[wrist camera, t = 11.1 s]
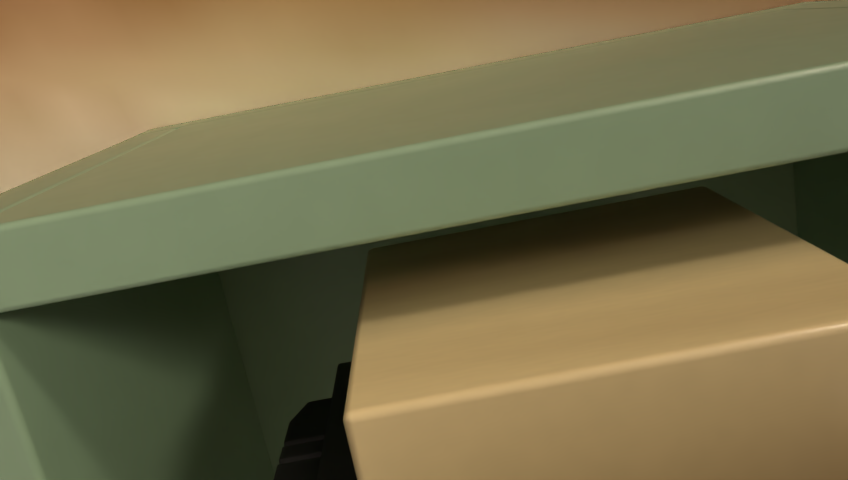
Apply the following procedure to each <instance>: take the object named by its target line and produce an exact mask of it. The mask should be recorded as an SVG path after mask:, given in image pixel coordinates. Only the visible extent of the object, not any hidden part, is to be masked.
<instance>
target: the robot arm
mask: <svg viewBox="0 0 848 480" xmlns="http://www.w3.org/2000/svg"><path fill="white" fill-rule="evenodd" d="M351 362H352V361H351ZM351 362H345V363H340V364H338V367H337V373H336V378H335V383H334V389H333V394H332V398H327V399H322V400H316V401H311V402H308V403H307V404H306V405H305V406H304V407H303V408H302V409H301V410H300V411H299V413H298V414H297V415H296V416H295V417H294V418H293V419H292V420H291V421H290V422H289V426H288V430H287V433H286V437H285V440H284V447H282V451H281V455H280V458H279V465H277V469H276V472H275V476H274V479H273V480H357V477H356V473H355V469H354V465H353V460H352V456H351V452H350V448H349V444H348V440H347V436H346V432H345V428H344V423H343V416H344V409H345V402H346V396H347V389H348V382H349V376H350V369H351Z"/></svg>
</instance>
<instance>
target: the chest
mask: <svg viewBox="0 0 848 480" xmlns="http://www.w3.org/2000/svg"><path fill="white" fill-rule="evenodd" d="M700 186H704V187H707V188H709V189H711V190H713V191H715V192H717V193H718V194H720V195H722V196H724V197H726V198H728V199H729V200H731V201H733V202H735V203H737V204H739V205H741V206H742V207H744V208H746V209H748V210H750V211H752V212H753V213H755V214H757V215H759V216H761V217H763V218H765V219H766V220H768V221H770V222H772V223H774V224H776V225H777V226H779V227H781V228H783V229H785V230H787V231H788V232H790V233H792V234H794V235H796V236H798V237H800V238H801V239H803V240H805V241H807V242H809V243H811V244H812V245H814V246H816V247H818V248H820V249H822V250H824V251H825V252H827V253H829V254H831V255H833V256H835V257H836V258H838V259H840V260H842V261H844V262H846V263H847V264H848V0H832V1H815V2H802V3H797V4H792V5H787V6H782V7H777V8H772V9H767V10H761V11H756V12H751V13H746V14H741V15H736V16H731V17H725V18H720V19H715V20H710V21H705V22H700V23H695V24H689V25H684V26H679V27H674V28H669V29H664V30H659V31H654V32H648V33H643V34H638V35H633V36H628V37H623V38H618V39H612V40H607V41H602V42H597V43H592V44H587V45H582V46H577V47H571V48H566V49H561V50H556V51H551V52H546V53H541V54H535V55H530V56H525V57H520V58H515V59H510V60H505V61H500V62H494V63H489V64H484V65H479V66H474V67H469V68H464V69H458V70H453V71H448V72H443V73H438V74H433V75H428V76H423V77H417V78H412V79H407V80H402V81H397V82H392V83H387V84H381V85H376V86H371V87H366V88H361V89H356V90H351V91H345V92H340V93H335V94H330V95H325V96H320V97H315V98H310V99H304V100H299V101H294V102H289V103H284V104H279V105H274V106H268V107H263V108H258V109H253V110H248V111H243V112H238V113H233V114H227V115H222V116H217V117H212V118H207V119H202V120H197V121H191V122H186V123H181V124H176V125H171V126H166V127H161V128H156V129H151V130H148V131H146V132H144V133H141V134H139V135H137V136H135V137H133V138H130V139H128V140H126V141H123V142H121V143H119V144H116V145H114V146H112V147H109V148H107V149H105V150H102V151H100V152H98V153H95V154H93V155H90V156H88V157H86V158H83V159H81V160H79V161H76V162H74V163H72V164H69V165H67V166H65V167H62V168H60V169H58V170H55V171H53V172H51V173H48V174H46V175H44V176H41V177H39V178H36V179H34V180H32V181H29V182H27V183H25V184H22V185H20V186H18V187H15V188H13V189H11V190H8V191H6V192H4V193H1V194H0V480H273V479H274V476H275V472H276V469H277V465H279V458H280V455H281V451H282V447H284V440H285V437H286V433H287V430H288V426H289V422H290V421H291V420H292V419H293V418H294V417H295V416H296V415H297V414H298V413H299V411H300V410H301V409H302V408H303V407H304V406H305V405H306V404H307V403H308V402H311V401H316V400H322V399H327V398H332V394H333V389H334V383H335V378H336V373H337V367H338V364H340V363H345V362H351V361H352V356H353V349H354V342H355V336H356V329H357V322H358V316H359V309H360V302H361V296H362V289H363V282H364V276H365V269H366V262H367V256H368V251H369V250H371V249H372V248H377V247H383V246H388V245H393V244H398V243H404V242H409V241H414V240H420V239H425V238H430V237H436V236H441V235H446V234H451V233H457V232H462V231H467V230H473V229H478V228H483V227H488V226H494V225H499V224H504V223H510V222H515V221H520V220H525V219H531V218H536V217H541V216H547V215H552V214H557V213H563V212H568V211H573V210H578V209H584V208H589V207H594V206H600V205H605V204H610V203H615V202H621V201H626V200H631V199H637V198H642V197H647V196H652V195H658V194H663V193H668V192H674V191H679V190H684V189H690V188H695V187H700Z"/></svg>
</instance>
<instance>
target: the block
mask: <svg viewBox="0 0 848 480" xmlns="http://www.w3.org/2000/svg"><path fill="white" fill-rule="evenodd" d="M343 423H344V428H345V432H346V436H347V440H348V444H349V448H350V452H351V456H352V460H353V465H354V469H355V473H356V477H357V480H848V264H847V263H846V262H844V261H842V260H840V259H838V258H836V257H835V256H833V255H831V254H829V253H827V252H825V251H824V250H822V249H820V248H818V247H816V246H814V245H812V244H811V243H809V242H807V241H805V240H803V239H801V238H800V237H798V236H796V235H794V234H792V233H790V232H788V231H787V230H785V229H783V228H781V227H779V226H777V225H776V224H774V223H772V222H770V221H768V220H766V219H765V218H763V217H761V216H759V215H757V214H755V213H753V212H752V211H750V210H748V209H746V208H744V207H742V206H741V205H739V204H737V203H735V202H733V201H731V200H729V199H728V198H726V197H724V196H722V195H720V194H718V193H717V192H715V191H713V190H711V189H709V188H707V187H704V186H700V187H695V188H690V189H684V190H679V191H674V192H668V193H663V194H658V195H652V196H647V197H642V198H637V199H631V200H626V201H621V202H615V203H610V204H605V205H600V206H594V207H589V208H584V209H578V210H573V211H568V212H563V213H557V214H552V215H547V216H541V217H536V218H531V219H525V220H520V221H515V222H510V223H504V224H499V225H494V226H488V227H483V228H478V229H473V230H467V231H462V232H457V233H451V234H446V235H441V236H436V237H430V238H425V239H420V240H414V241H409V242H404V243H398V244H393V245H388V246H383V247H377V248H372V249H371V250H369V251H368V256H367V262H366V269H365V276H364V282H363V289H362V296H361V302H360V309H359V316H358V322H357V329H356V336H355V342H354V349H353V356H352V362H351V369H350V376H349V382H348V389H347V396H346V402H345V409H344V416H343Z"/></svg>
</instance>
